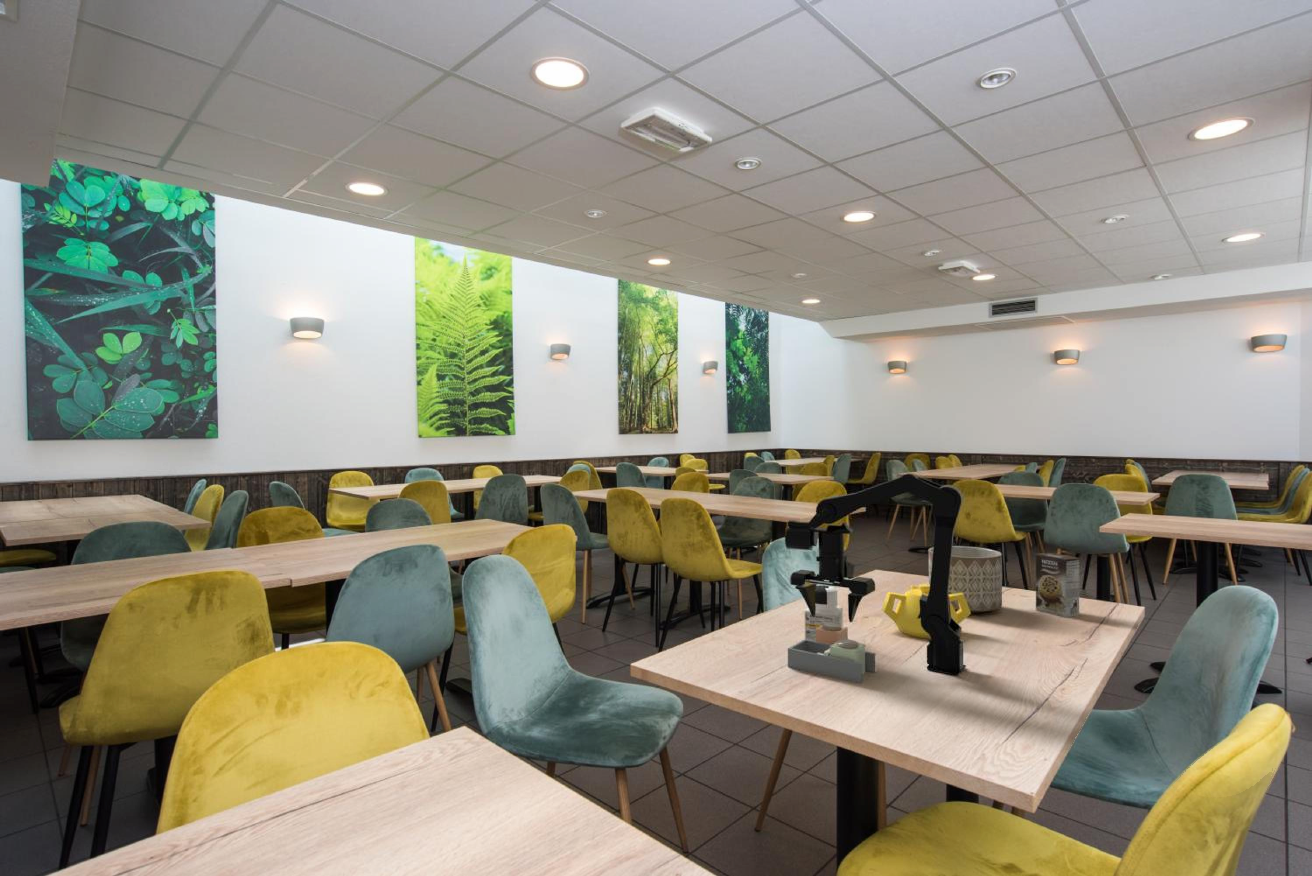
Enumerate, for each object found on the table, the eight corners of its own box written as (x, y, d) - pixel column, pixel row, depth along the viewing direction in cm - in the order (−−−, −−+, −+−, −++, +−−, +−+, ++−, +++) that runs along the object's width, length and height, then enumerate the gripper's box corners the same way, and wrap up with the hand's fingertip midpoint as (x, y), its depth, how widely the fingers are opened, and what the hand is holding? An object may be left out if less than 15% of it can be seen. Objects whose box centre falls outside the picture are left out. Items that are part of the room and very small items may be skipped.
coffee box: (1034, 610, 193) (1034, 553, 192) (1049, 607, 195) (1049, 551, 195) (1065, 617, 184) (1065, 559, 184) (1080, 615, 187) (1080, 557, 187)
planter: (1005, 604, 199) (1004, 549, 199) (998, 620, 182) (998, 560, 182) (935, 597, 209) (934, 544, 209) (923, 611, 193) (922, 553, 192)
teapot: (973, 632, 172) (973, 585, 172) (941, 646, 161) (941, 596, 161) (912, 619, 185) (912, 575, 185) (878, 630, 174) (878, 584, 174)
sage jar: (865, 672, 144) (864, 641, 144) (855, 680, 140) (854, 648, 140) (840, 667, 148) (840, 637, 148) (830, 674, 143) (829, 643, 143)
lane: (875, 672, 144) (875, 653, 144) (860, 683, 138) (860, 663, 138) (804, 656, 154) (804, 639, 154) (787, 666, 148) (787, 648, 148)
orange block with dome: (847, 653, 157) (847, 624, 157) (838, 659, 153) (837, 630, 153) (825, 648, 160) (825, 620, 160) (815, 654, 156) (815, 626, 156)
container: (804, 641, 166) (804, 588, 166) (812, 633, 173) (812, 582, 172) (836, 645, 162) (835, 592, 162) (843, 637, 169) (842, 585, 169)
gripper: (883, 550, 157) (884, 617, 157) (809, 543, 168) (810, 605, 169) (865, 557, 148) (866, 628, 148) (788, 549, 160) (789, 615, 160)
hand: (832, 618), depth 156 cm, fingers open, 9 cm apart
